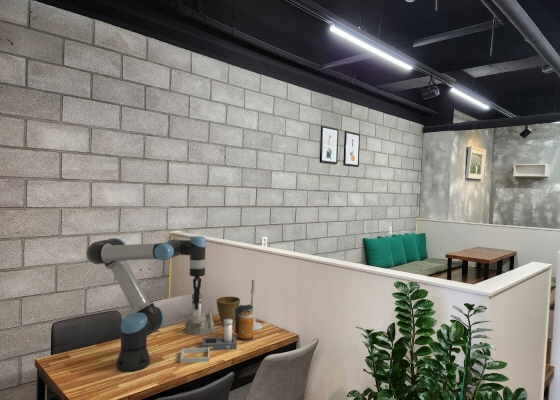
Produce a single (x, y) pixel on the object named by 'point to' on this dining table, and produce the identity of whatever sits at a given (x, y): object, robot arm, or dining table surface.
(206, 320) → the grey jagged lump
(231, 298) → the plant pot
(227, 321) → the cylinder
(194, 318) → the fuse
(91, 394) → the dining table surface
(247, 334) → the canister
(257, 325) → the candlestick
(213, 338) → the block
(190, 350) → the parts tray
